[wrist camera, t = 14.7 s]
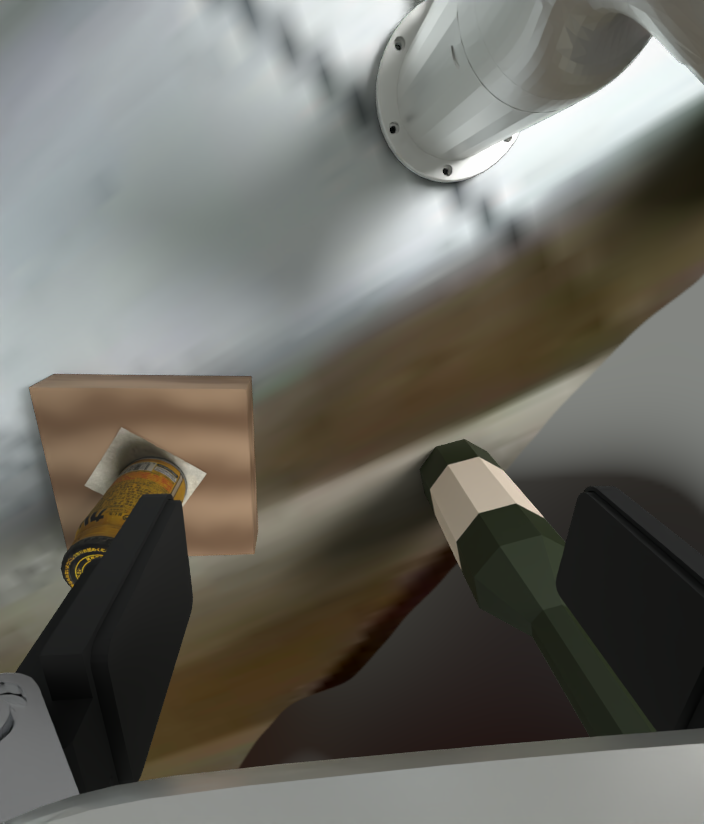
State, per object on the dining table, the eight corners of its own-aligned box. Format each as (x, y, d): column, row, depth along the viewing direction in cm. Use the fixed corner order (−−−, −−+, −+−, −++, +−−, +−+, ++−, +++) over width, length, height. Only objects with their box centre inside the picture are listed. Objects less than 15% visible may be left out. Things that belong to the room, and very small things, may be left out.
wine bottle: (427, 435, 47) (607, 719, 19) (500, 442, 48) (768, 720, 20) (412, 501, 50) (548, 832, 22) (480, 507, 51) (692, 826, 23)
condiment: (168, 526, 43) (121, 625, 32) (85, 484, 41) (2, 576, 29) (207, 472, 41) (171, 557, 30) (122, 425, 39) (50, 499, 28)
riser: (53, 374, 40) (28, 387, 37) (251, 376, 42) (246, 389, 39) (88, 534, 47) (69, 559, 43) (258, 530, 49) (254, 554, 45)
